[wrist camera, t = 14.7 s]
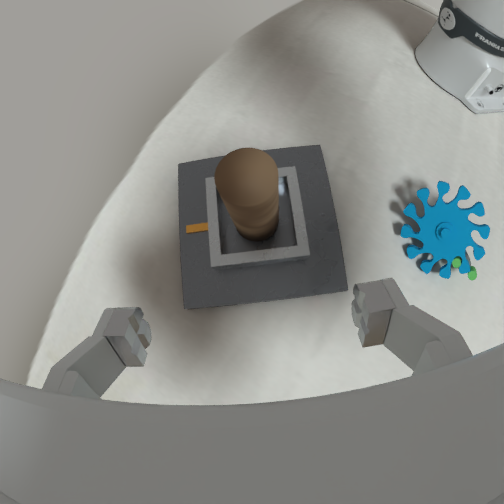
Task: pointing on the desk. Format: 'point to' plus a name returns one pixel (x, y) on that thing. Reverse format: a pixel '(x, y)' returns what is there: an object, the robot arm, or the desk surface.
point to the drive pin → (250, 192)
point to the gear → (446, 232)
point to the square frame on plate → (261, 252)
